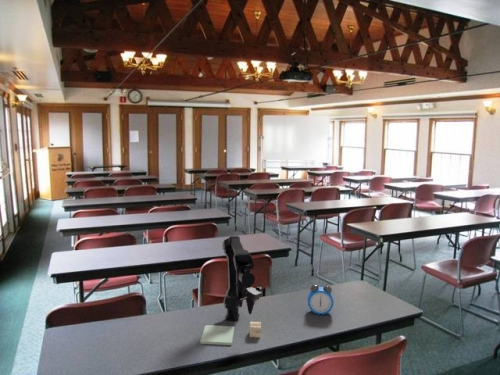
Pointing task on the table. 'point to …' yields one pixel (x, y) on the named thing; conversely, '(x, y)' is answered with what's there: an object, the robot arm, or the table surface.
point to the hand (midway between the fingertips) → (243, 316)
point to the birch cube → (255, 329)
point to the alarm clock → (320, 299)
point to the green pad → (217, 335)
